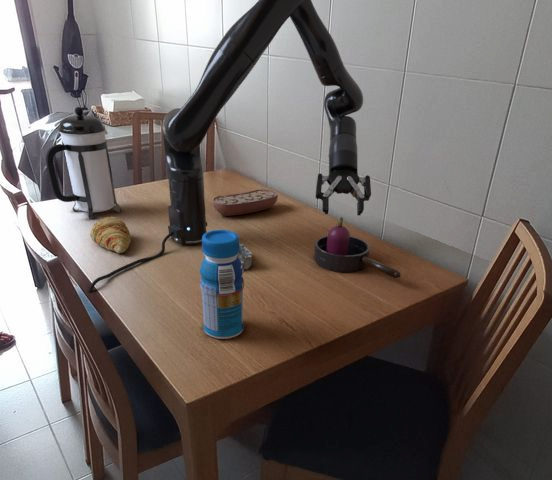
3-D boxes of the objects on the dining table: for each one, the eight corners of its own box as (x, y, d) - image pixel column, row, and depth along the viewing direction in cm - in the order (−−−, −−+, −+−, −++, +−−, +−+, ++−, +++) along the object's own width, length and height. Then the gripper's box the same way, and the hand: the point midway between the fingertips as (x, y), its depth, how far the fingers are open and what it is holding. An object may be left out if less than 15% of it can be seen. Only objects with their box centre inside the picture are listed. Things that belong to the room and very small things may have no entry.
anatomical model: (267, 202, 165) (267, 187, 162) (284, 210, 159) (284, 195, 156) (208, 213, 154) (207, 197, 151) (223, 222, 148) (223, 206, 145)
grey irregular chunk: (253, 269, 121) (253, 254, 119) (223, 272, 119) (223, 256, 117) (245, 252, 129) (245, 238, 127) (217, 254, 128) (217, 240, 125)
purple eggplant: (330, 262, 125) (335, 221, 119) (322, 253, 130) (325, 214, 123) (350, 260, 127) (356, 219, 120) (341, 251, 131) (346, 212, 125)
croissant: (135, 266, 128) (146, 238, 126) (99, 256, 121) (109, 227, 119) (112, 237, 142) (121, 212, 140) (78, 227, 136) (87, 201, 133)
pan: (341, 277, 119) (343, 261, 116) (302, 258, 128) (303, 242, 125) (378, 263, 127) (381, 247, 124) (339, 246, 135) (341, 231, 133)
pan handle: (401, 278, 115) (402, 271, 114) (396, 280, 114) (397, 273, 113) (364, 261, 122) (365, 254, 121) (359, 263, 121) (360, 256, 120)
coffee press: (79, 202, 158) (58, 101, 141) (127, 204, 158) (112, 104, 141) (58, 221, 144) (32, 111, 127) (110, 223, 144) (92, 113, 127)
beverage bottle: (195, 335, 96) (188, 240, 84) (214, 315, 102) (210, 224, 91) (233, 344, 93) (231, 248, 82) (251, 323, 100) (251, 231, 88)
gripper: (318, 147, 123) (317, 205, 120) (372, 149, 123) (373, 207, 121) (314, 163, 131) (314, 219, 128) (366, 165, 131) (367, 220, 128)
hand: (343, 213), depth 124 cm, fingers open, 8 cm apart
